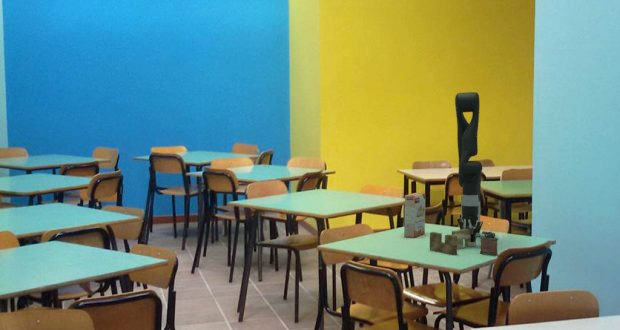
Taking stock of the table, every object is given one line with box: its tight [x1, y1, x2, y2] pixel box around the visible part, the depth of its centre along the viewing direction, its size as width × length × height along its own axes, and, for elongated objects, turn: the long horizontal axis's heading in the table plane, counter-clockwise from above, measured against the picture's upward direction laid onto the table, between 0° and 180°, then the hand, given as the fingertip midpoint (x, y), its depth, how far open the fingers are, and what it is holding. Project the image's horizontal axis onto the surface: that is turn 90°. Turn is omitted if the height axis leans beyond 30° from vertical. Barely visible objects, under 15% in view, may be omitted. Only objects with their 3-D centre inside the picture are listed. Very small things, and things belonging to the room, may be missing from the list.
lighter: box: [479, 230, 499, 257], centre depth 329 cm, size 8×3×10 cm, turn 48°
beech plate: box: [451, 228, 477, 250], centre depth 347 cm, size 2×14×8 cm, turn 128°
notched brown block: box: [429, 231, 458, 256], centre depth 335 cm, size 14×2×8 cm, turn 38°
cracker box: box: [403, 192, 426, 239], centre depth 377 cm, size 14×6×21 cm, turn 150°
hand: (469, 241), depth 349 cm, fingers open, 3 cm apart
